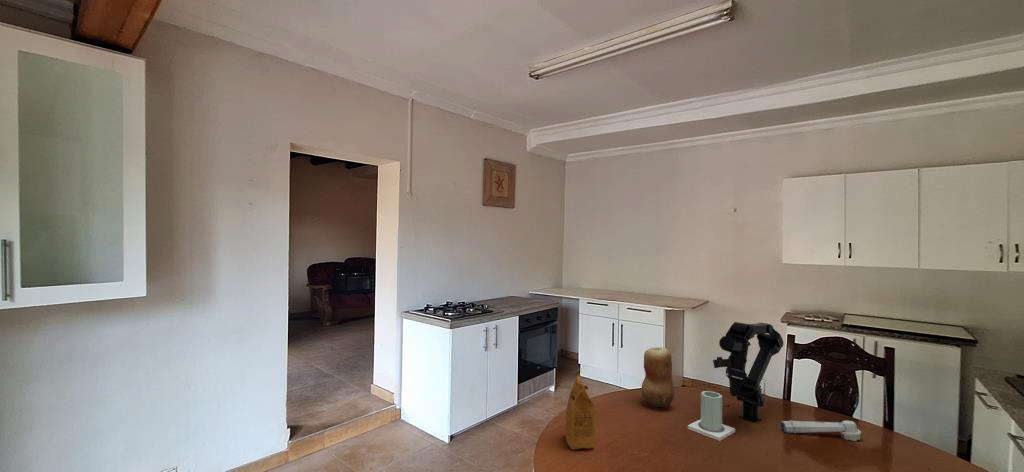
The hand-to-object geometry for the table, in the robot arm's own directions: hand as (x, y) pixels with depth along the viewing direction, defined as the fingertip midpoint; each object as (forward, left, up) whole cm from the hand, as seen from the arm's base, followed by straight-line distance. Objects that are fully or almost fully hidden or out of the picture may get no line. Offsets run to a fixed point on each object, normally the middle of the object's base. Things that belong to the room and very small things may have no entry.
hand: (732, 395), depth 158 cm
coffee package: (+57, -26, -12) cm, 64 cm away
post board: (+10, -3, -12) cm, 16 cm away
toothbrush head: (-19, +23, -12) cm, 32 cm away
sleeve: (+10, -3, -10) cm, 15 cm away
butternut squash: (+6, -28, -12) cm, 31 cm away
